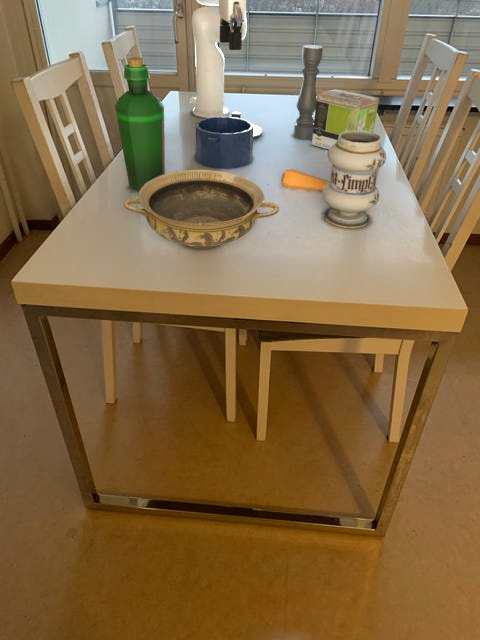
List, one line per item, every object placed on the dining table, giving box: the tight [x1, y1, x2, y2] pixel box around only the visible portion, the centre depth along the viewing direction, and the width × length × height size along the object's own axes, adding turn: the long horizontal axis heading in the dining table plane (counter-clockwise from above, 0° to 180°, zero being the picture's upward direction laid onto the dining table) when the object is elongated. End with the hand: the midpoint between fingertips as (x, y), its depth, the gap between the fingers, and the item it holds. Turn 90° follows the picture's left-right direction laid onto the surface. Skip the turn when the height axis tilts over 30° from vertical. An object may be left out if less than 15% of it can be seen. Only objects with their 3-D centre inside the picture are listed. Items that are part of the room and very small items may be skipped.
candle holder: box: [293, 44, 324, 140], centre depth 145 cm, size 6×6×25 cm
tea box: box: [311, 88, 380, 150], centre depth 140 cm, size 15×10×15 cm, turn 47°
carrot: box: [280, 168, 330, 192], centre depth 119 cm, size 20×4×4 cm, turn 80°
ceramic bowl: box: [123, 169, 280, 249], centre depth 95 cm, size 30×24×10 cm
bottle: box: [114, 56, 166, 193], centre depth 110 cm, size 11×11×28 cm
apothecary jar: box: [322, 130, 387, 229], centre depth 102 cm, size 12×12×18 cm
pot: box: [194, 116, 254, 169], centre depth 133 cm, size 16×21×9 cm
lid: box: [231, 111, 263, 139], centre depth 151 cm, size 17×17×6 cm
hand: (230, 45), depth 129 cm, fingers open, 9 cm apart
